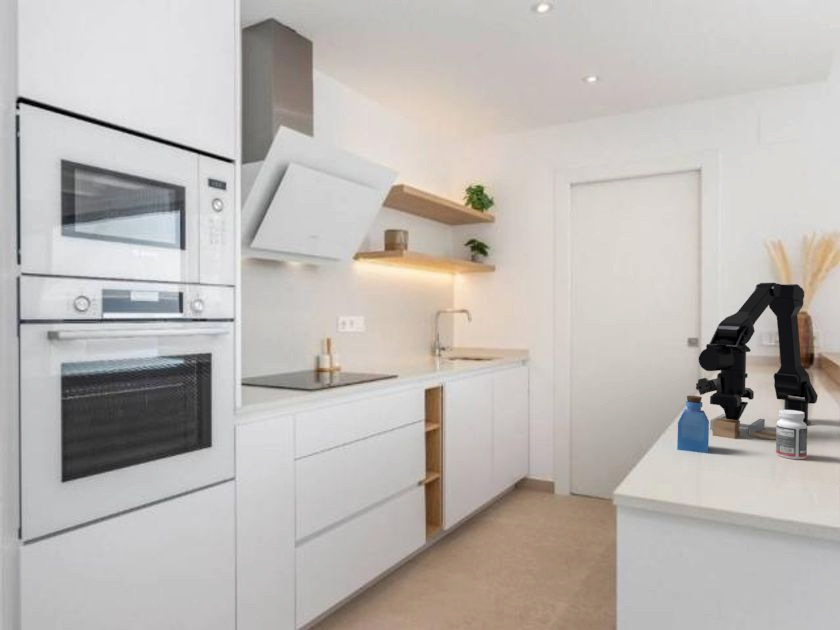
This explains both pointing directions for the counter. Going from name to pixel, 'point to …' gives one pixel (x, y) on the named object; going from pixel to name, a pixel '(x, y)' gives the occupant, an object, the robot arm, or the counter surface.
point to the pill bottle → (791, 435)
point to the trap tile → (744, 425)
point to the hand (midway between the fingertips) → (731, 429)
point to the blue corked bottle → (693, 427)
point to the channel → (752, 427)
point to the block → (726, 428)
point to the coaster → (765, 434)
